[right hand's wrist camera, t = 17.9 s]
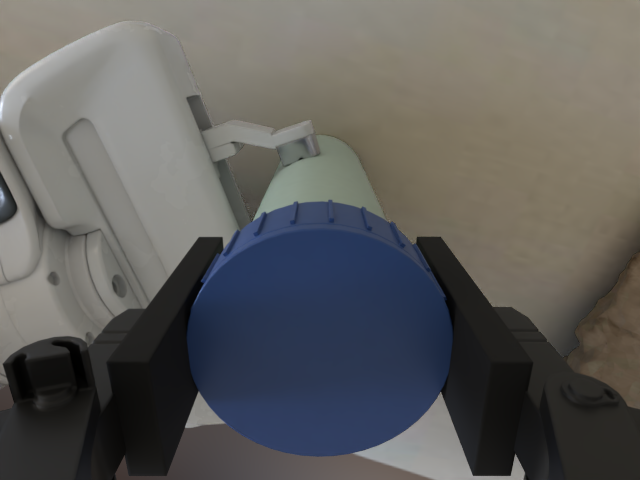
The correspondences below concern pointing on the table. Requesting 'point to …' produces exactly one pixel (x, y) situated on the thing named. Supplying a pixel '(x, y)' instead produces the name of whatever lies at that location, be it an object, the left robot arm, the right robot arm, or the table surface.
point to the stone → (613, 337)
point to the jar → (322, 180)
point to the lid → (319, 331)
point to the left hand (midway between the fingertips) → (337, 202)
